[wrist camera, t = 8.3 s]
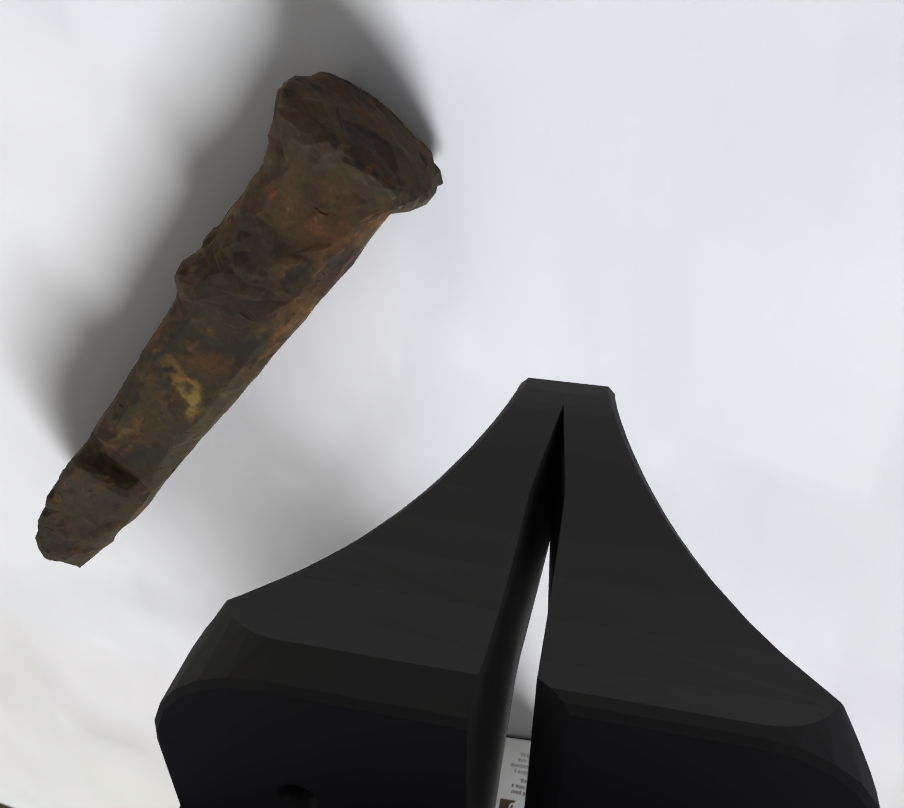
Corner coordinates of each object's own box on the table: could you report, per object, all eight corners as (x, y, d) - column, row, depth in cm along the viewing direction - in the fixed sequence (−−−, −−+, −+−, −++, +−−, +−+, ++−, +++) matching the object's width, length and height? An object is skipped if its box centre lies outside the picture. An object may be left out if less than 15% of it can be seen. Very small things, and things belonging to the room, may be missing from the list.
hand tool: (339, 40, 19) (261, 83, 16) (460, 158, 20) (414, 226, 17) (46, 446, 30) (-44, 531, 26) (136, 512, 30) (62, 603, 27)
